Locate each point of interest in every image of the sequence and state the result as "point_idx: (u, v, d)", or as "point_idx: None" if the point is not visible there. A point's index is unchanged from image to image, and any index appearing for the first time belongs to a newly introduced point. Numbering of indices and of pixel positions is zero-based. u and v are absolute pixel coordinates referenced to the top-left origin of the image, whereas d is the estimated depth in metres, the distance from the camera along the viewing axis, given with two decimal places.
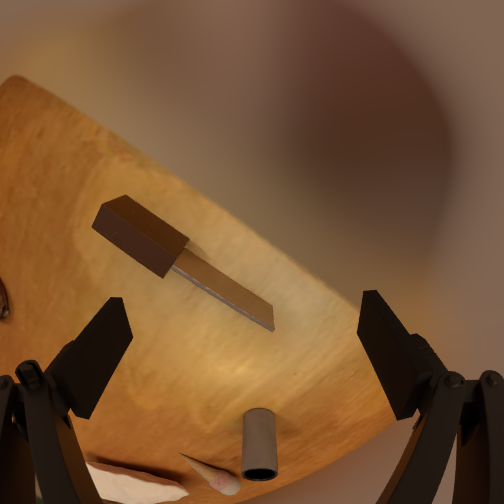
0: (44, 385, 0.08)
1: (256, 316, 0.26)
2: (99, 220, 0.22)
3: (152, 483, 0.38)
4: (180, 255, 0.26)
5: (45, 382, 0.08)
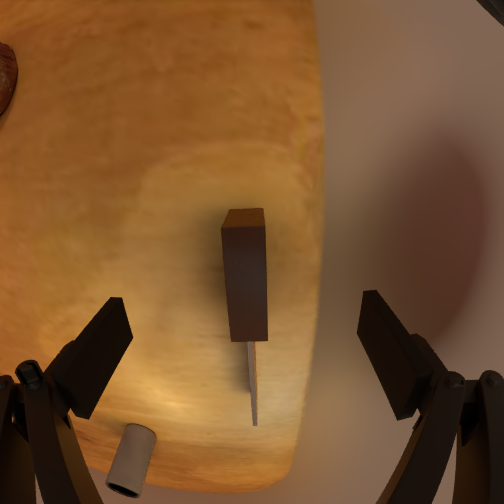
0: (44, 385, 0.08)
1: (256, 410, 0.23)
2: (240, 234, 0.16)
3: None
4: None
5: (45, 382, 0.08)
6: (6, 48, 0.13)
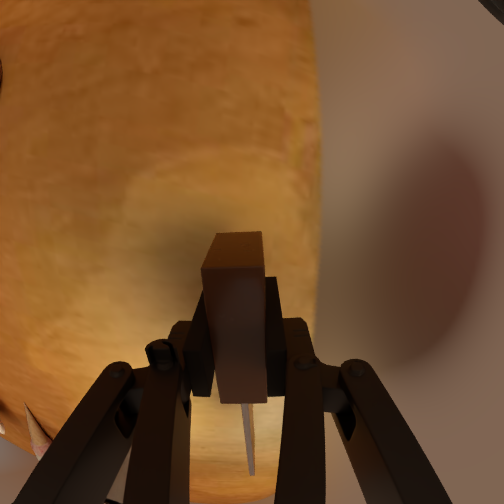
0: (176, 369, 0.09)
1: (253, 461, 0.17)
2: (228, 277, 0.11)
3: None
4: None
5: (178, 366, 0.10)
6: None
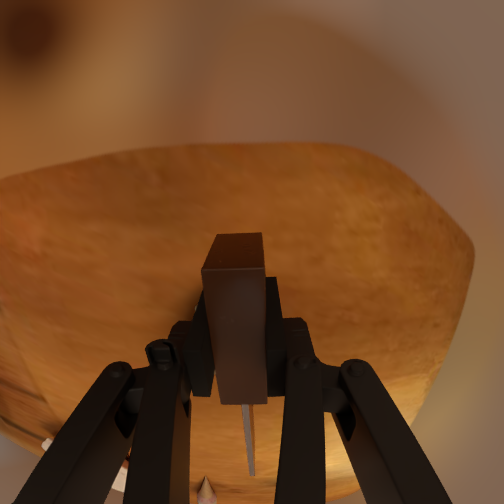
0: (176, 369, 0.09)
1: None
2: (228, 279, 0.11)
3: None
4: None
5: (178, 366, 0.10)
6: None
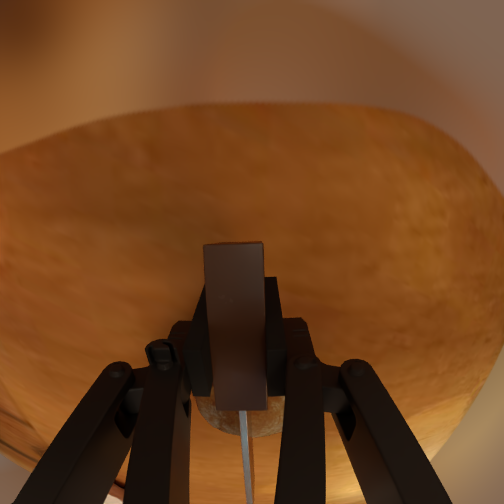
0: (176, 369, 0.09)
1: (252, 498, 0.13)
2: (228, 254, 0.12)
3: None
4: None
5: (178, 366, 0.10)
6: None
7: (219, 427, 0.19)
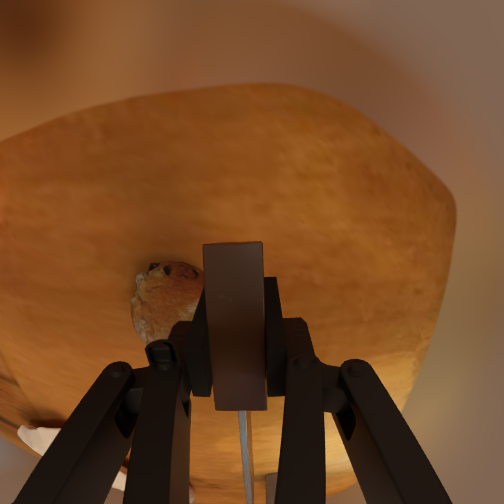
0: (176, 369, 0.09)
1: (252, 498, 0.13)
2: (227, 253, 0.12)
3: None
4: None
5: (178, 366, 0.10)
6: None
7: (146, 340, 0.26)
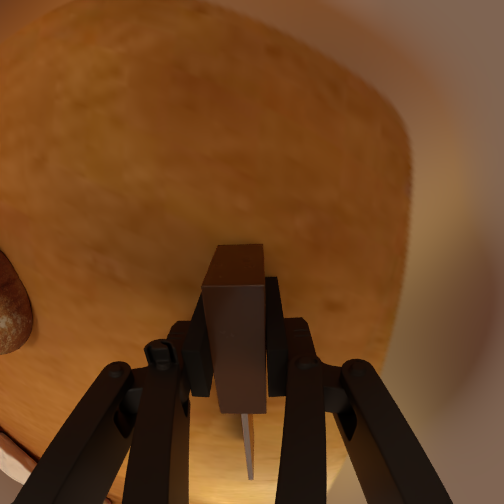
0: (175, 369, 0.09)
1: (252, 466, 0.18)
2: (228, 295, 0.11)
3: None
4: None
5: (177, 366, 0.10)
6: None
7: None
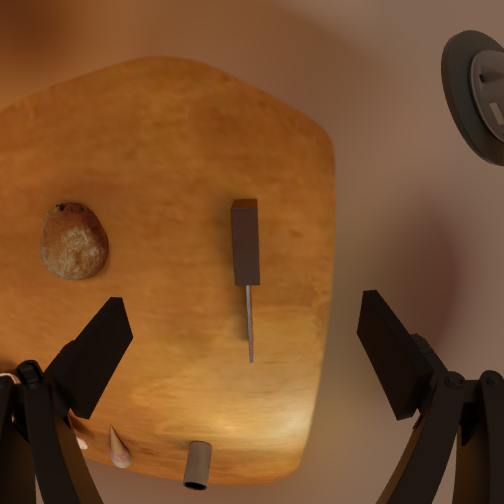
0: (44, 385, 0.08)
1: (252, 347, 0.33)
2: (242, 212, 0.27)
3: None
4: None
5: (45, 382, 0.08)
6: (90, 216, 0.30)
7: (45, 264, 0.28)
